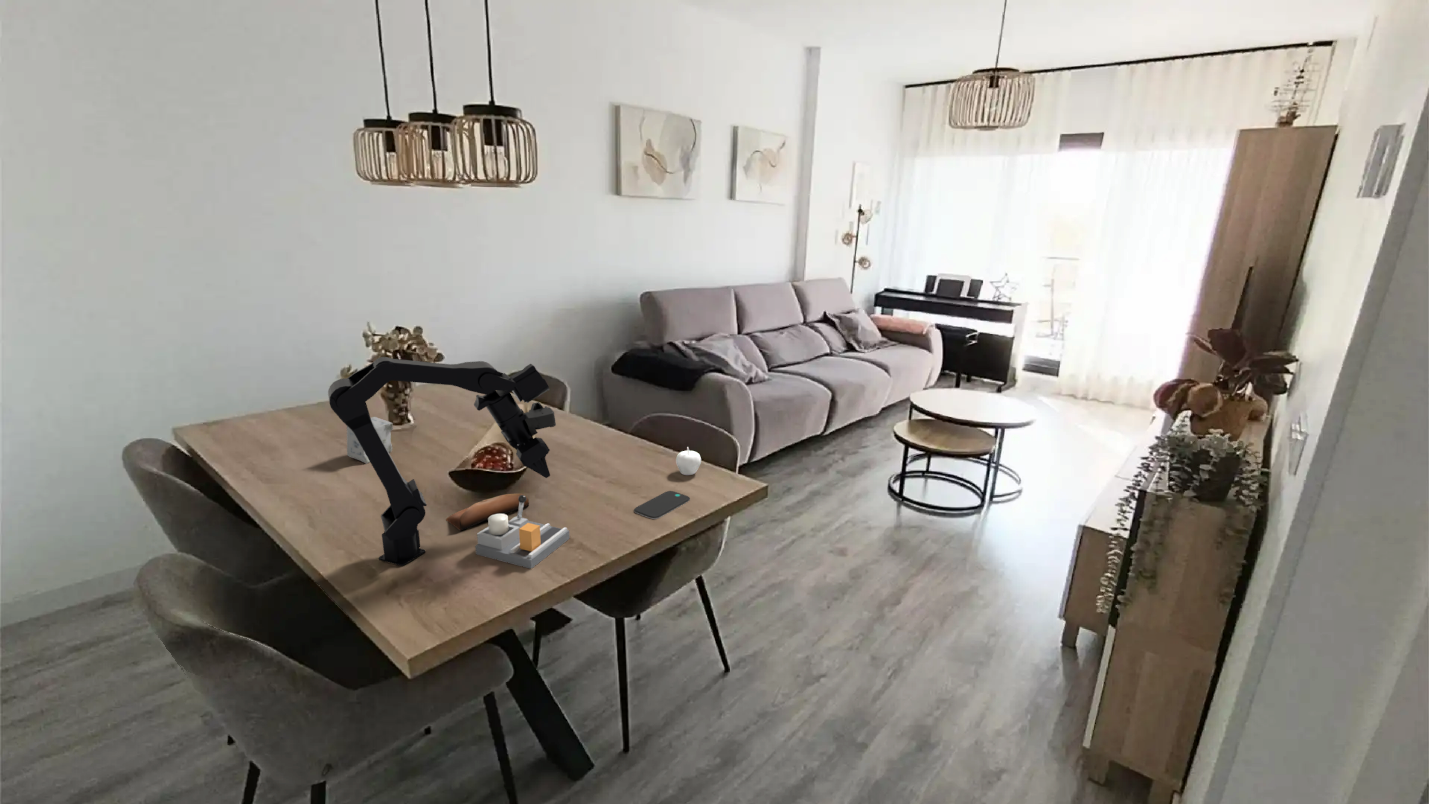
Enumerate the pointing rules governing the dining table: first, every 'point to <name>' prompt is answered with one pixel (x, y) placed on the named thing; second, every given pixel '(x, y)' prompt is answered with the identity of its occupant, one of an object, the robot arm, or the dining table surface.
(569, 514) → the dining table surface
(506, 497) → the sunglasses case
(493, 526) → the button
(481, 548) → the panel
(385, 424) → the white printed carton
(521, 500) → the toggle lever
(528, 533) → the slider knob
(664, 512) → the smartphone
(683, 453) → the plain white apple
